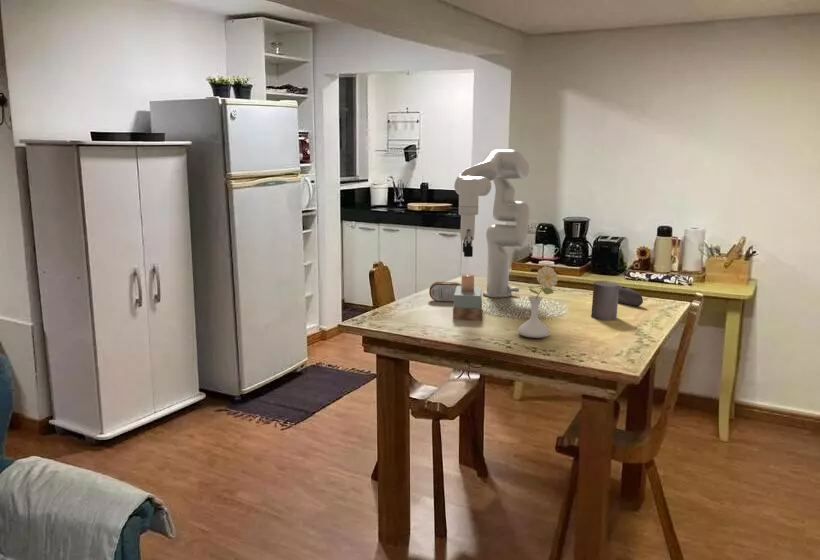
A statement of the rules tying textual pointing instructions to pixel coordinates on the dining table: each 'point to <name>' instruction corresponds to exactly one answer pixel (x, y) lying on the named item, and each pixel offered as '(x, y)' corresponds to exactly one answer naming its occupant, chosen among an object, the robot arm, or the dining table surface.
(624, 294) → the perforated stone tool
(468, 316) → the tower base
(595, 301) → the pillar candle
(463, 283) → the column
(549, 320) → the dining table surface
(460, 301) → the tower top
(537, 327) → the flower in vase
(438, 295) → the tin
